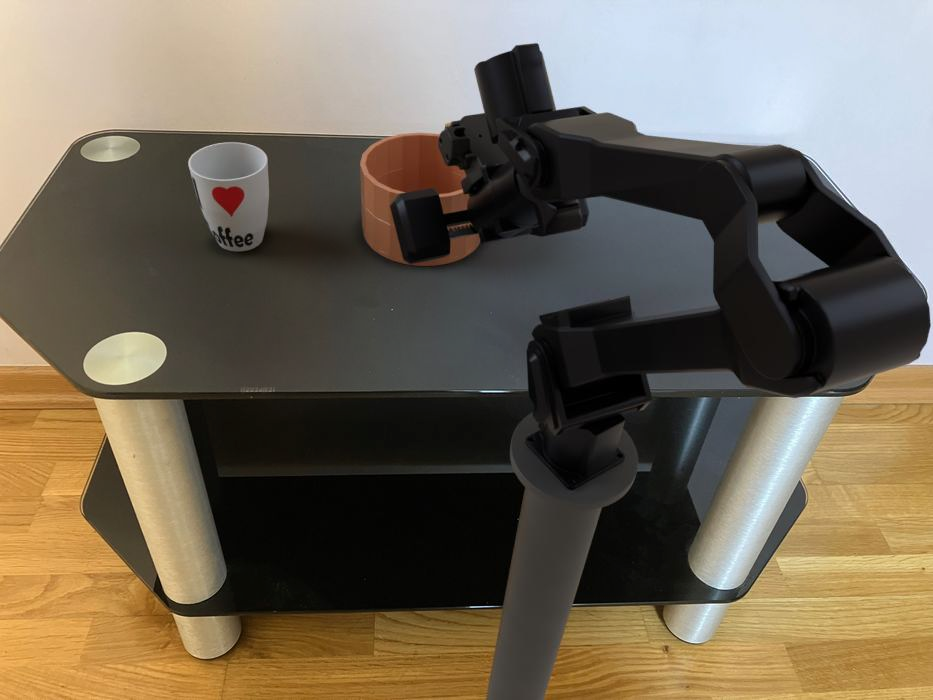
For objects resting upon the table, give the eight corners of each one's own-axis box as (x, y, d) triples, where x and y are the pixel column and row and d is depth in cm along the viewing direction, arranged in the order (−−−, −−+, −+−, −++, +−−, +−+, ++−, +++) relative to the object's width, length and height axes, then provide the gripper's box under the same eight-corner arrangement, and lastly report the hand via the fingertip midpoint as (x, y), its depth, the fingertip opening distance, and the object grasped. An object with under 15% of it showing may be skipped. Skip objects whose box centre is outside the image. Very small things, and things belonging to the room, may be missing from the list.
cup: (189, 247, 88) (172, 168, 81) (231, 212, 94) (218, 135, 87) (251, 267, 86) (238, 188, 79) (290, 229, 92) (281, 153, 85)
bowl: (505, 243, 92) (513, 176, 86) (402, 280, 86) (403, 210, 80) (440, 187, 101) (443, 122, 95) (341, 217, 94) (338, 149, 88)
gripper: (594, 86, 70) (525, 143, 84) (396, 114, 63) (359, 170, 78) (624, 208, 70) (550, 243, 84) (430, 247, 63) (386, 278, 78)
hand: (464, 231), depth 81 cm, fingers open, 9 cm apart
